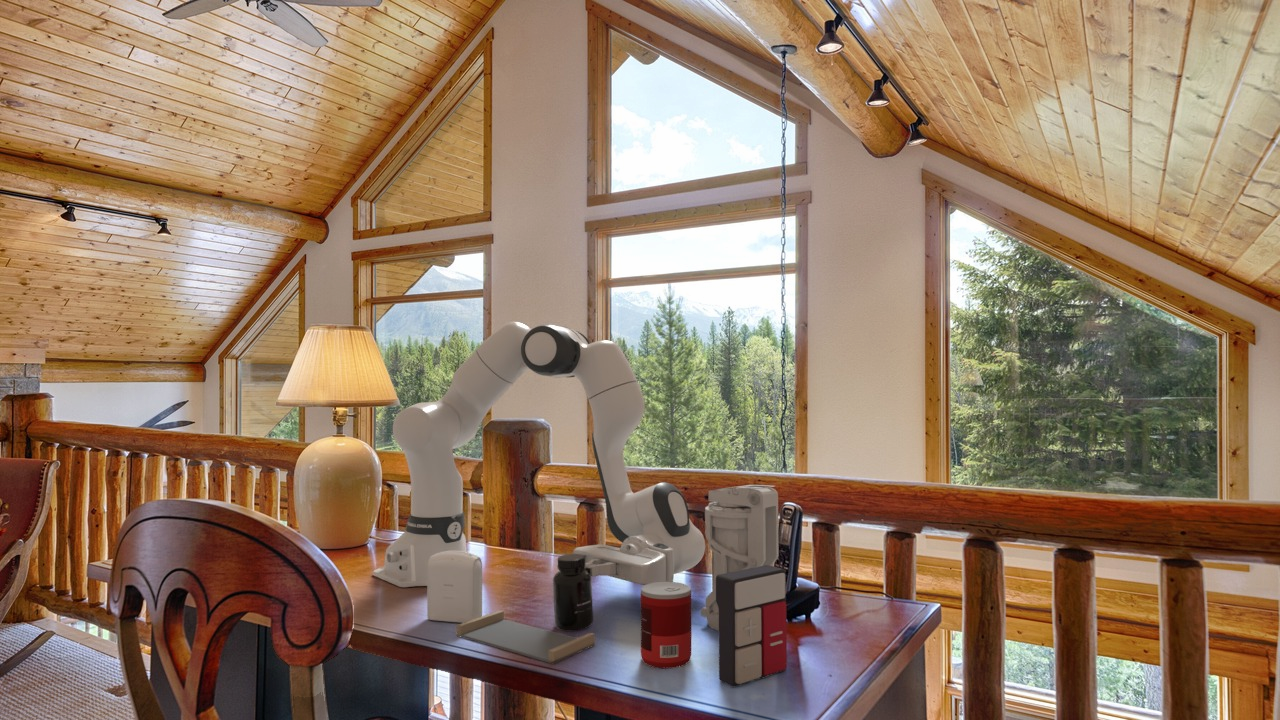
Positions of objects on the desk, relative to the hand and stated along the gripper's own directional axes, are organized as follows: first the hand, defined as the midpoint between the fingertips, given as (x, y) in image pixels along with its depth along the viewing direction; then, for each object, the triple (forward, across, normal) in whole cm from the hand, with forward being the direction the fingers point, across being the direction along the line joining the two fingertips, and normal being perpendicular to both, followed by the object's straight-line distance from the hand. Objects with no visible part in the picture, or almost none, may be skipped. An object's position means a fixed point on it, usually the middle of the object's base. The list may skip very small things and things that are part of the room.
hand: (586, 570), depth 131 cm
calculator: (-1, +36, +10) cm, 37 cm away
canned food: (+3, +22, +10) cm, 24 cm away
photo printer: (+16, -18, +10) cm, 26 cm away
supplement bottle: (+3, 0, +9) cm, 10 cm away
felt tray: (+13, 0, +9) cm, 16 cm away
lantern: (-18, +21, +9) cm, 29 cm away
